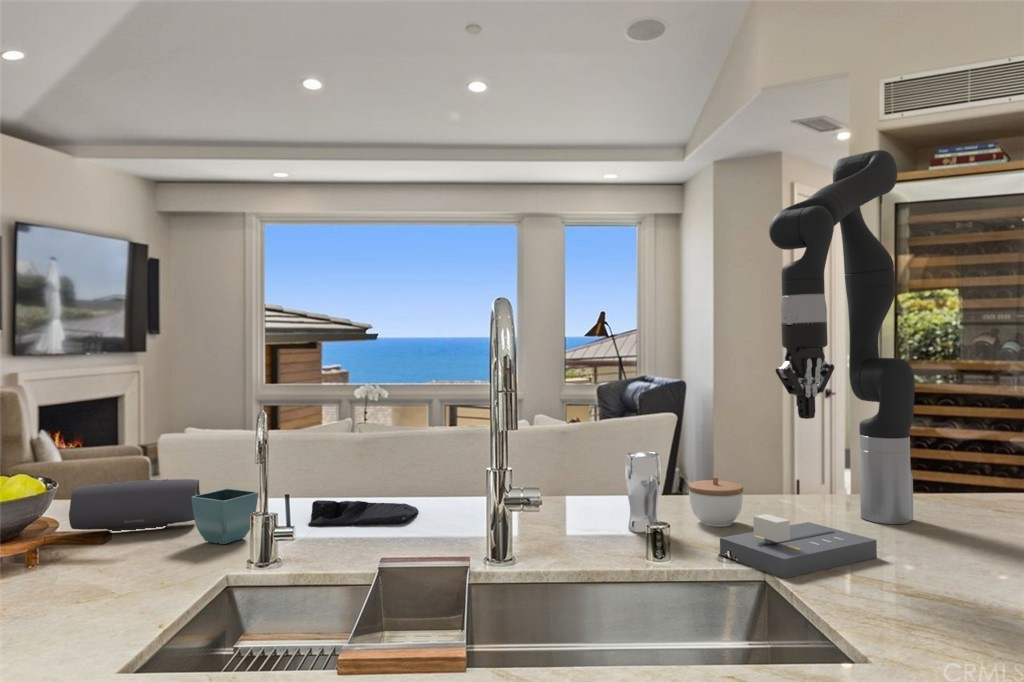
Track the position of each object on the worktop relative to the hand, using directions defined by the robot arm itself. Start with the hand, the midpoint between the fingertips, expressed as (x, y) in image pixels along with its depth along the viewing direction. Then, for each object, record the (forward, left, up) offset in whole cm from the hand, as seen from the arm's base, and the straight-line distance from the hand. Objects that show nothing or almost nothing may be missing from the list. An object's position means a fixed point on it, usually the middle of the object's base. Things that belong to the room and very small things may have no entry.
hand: (806, 418), depth 127 cm
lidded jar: (+1, -22, -24) cm, 32 cm away
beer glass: (+17, -25, -24) cm, 38 cm away
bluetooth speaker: (+106, -76, -24) cm, 133 cm away
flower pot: (+91, -58, -24) cm, 111 cm away
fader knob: (+11, +2, -20) cm, 23 cm away
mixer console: (+5, +2, -23) cm, 24 cm away
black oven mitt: (+63, -62, -24) cm, 92 cm away
